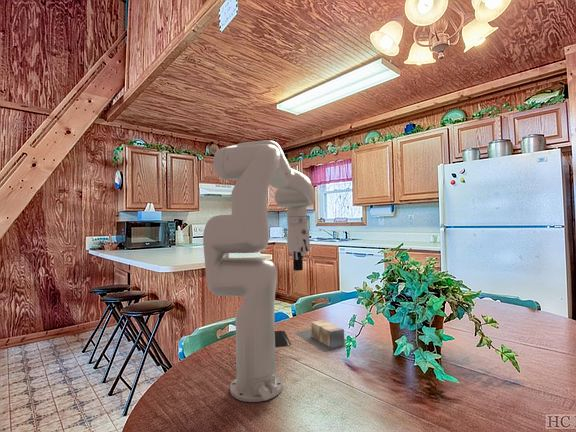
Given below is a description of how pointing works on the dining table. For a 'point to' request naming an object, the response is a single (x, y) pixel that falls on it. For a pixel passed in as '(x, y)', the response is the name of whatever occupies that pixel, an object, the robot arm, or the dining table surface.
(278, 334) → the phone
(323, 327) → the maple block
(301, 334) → the rubber mat
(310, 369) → the dining table surface
